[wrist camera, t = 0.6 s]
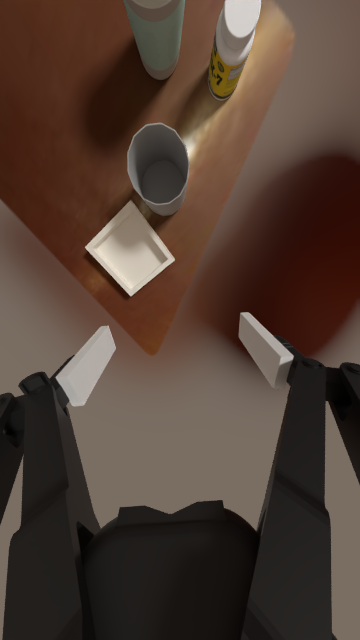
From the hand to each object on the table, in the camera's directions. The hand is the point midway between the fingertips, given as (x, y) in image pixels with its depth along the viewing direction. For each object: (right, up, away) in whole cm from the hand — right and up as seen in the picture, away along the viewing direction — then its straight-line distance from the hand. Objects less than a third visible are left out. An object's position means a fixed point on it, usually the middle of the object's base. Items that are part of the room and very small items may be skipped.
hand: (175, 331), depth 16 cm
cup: (-3, +26, +15) cm, 30 cm away
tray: (-10, +16, +19) cm, 27 cm away
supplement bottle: (+7, +39, +9) cm, 40 cm away
